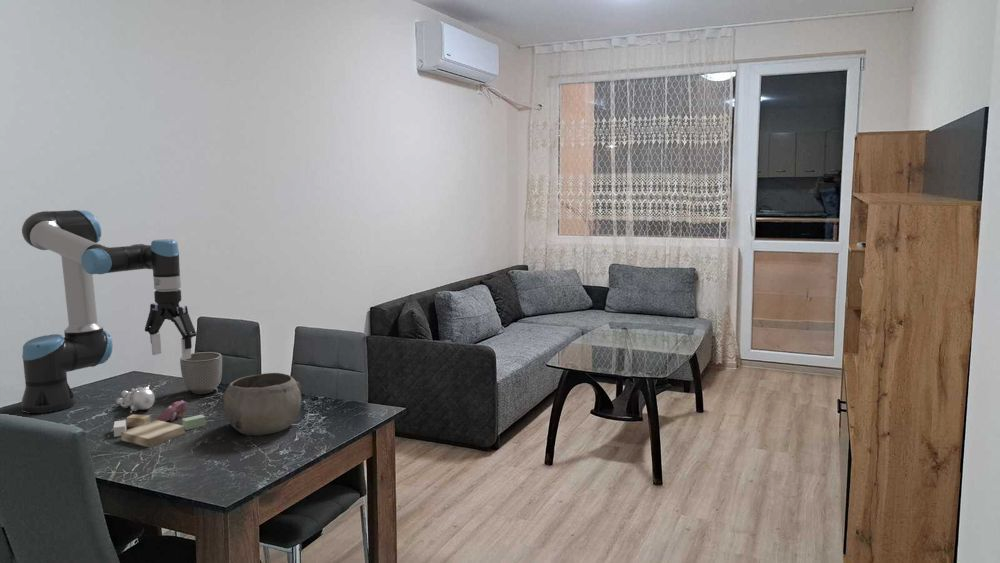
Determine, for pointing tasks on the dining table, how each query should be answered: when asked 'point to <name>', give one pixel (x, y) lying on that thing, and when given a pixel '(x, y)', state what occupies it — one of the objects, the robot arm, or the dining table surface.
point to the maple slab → (152, 433)
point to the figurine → (137, 399)
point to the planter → (202, 372)
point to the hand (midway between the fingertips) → (171, 356)
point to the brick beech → (137, 420)
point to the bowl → (262, 403)
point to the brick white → (119, 427)
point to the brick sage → (194, 422)
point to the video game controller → (174, 411)
